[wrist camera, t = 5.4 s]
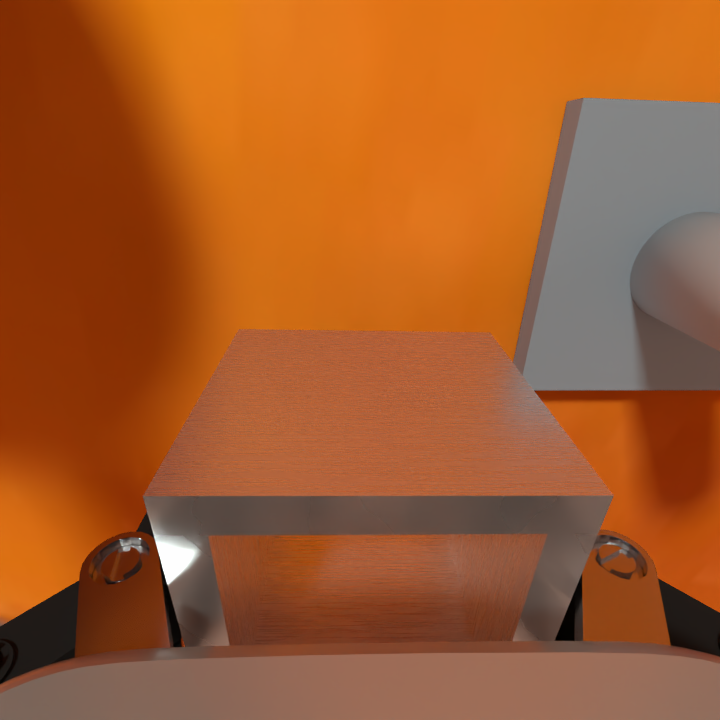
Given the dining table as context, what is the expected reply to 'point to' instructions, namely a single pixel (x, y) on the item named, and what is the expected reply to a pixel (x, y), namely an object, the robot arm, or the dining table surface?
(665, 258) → the flange
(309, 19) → the dining table surface
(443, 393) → the collar
